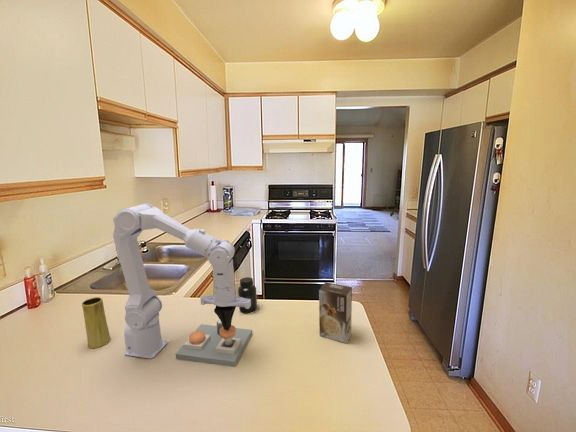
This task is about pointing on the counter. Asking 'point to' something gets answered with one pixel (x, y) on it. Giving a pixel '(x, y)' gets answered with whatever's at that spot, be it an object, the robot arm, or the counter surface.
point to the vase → (95, 322)
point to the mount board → (215, 347)
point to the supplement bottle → (248, 294)
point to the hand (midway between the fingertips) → (227, 327)
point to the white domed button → (219, 326)
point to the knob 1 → (197, 337)
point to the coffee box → (335, 311)
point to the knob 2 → (227, 334)
